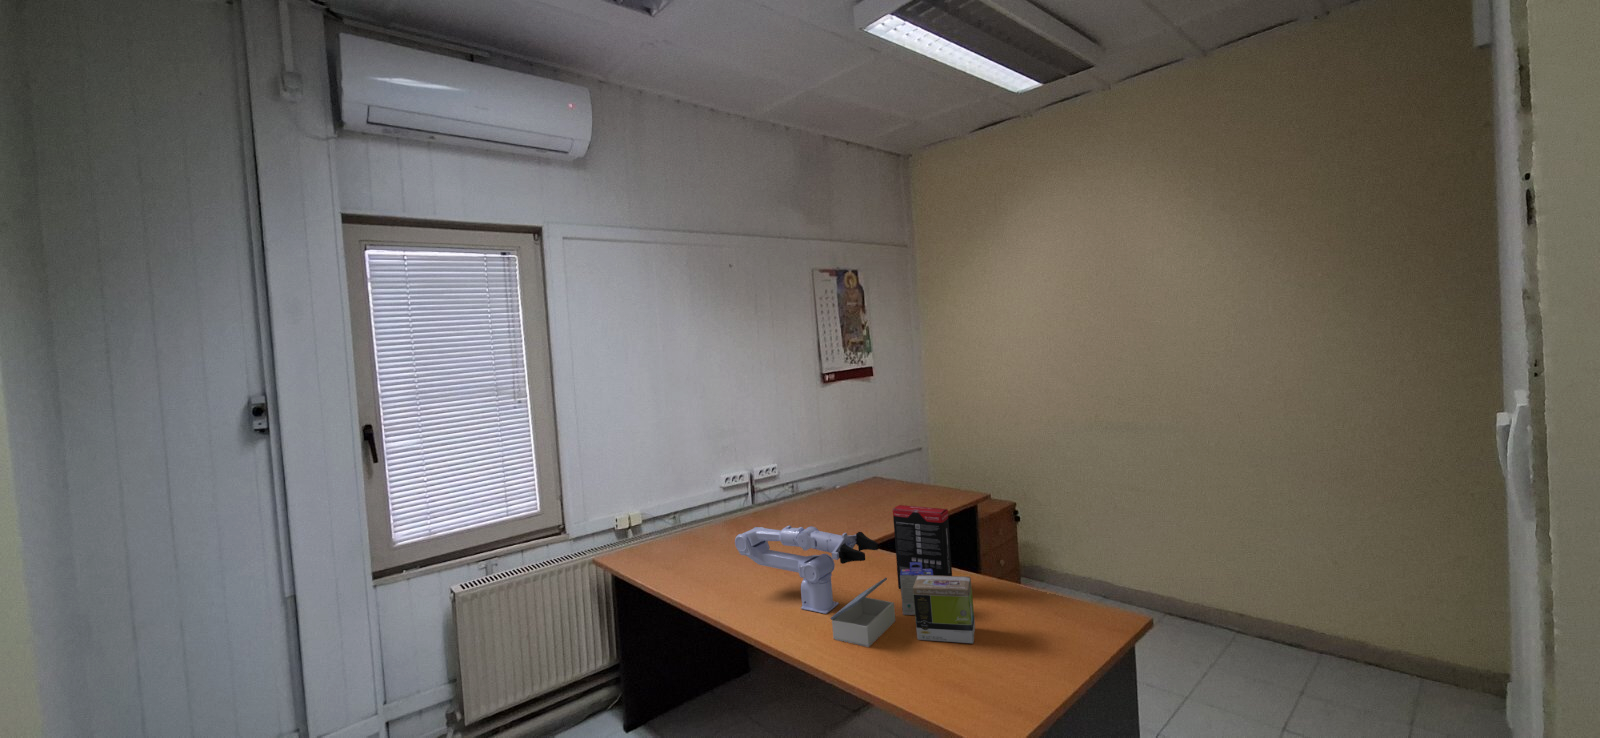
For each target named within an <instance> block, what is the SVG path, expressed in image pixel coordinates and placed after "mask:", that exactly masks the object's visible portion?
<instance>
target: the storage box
mask: <svg viewBox="0 0 1600 738" xmlns="http://www.w3.org/2000/svg"><path fill="white" fill-rule="evenodd" d="M895 611H896V610H895V602H893V601H888V600H883V599H876V598H871V597H868V596H866V597H865V598H864V599H863V600H862V601H860V602H859V603H858V604H856V605H854V606H853V607H851V608H850V609H848V610H846V611H845V612H843V613H842V614H840V615H839V616H837V617H835V618H834V619H832V620H831V625H832V636H833V640H834V639H835V641H839V642H843V641H844V643H847V642H848V643H847V644H852V643H853V644H852V645H856V644H857V646H861V647H865V648H870V647H871V645H873V644H874V643H875V642H876V641H877V640H879V638H880V637H881V636H882V635H883V634H884V633H885V632H886V631H887V630H888V629H889V628H890V627H891V626H892V625H893V624H894V623H895V622H896V615H895ZM878 637H879V638H878ZM873 642H874V643H873Z"/></svg>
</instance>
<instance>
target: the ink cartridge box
mask: <svg viewBox="0 0 1600 738" xmlns="http://www.w3.org/2000/svg"><path fill="white" fill-rule="evenodd" d="M912 565H920V567H912ZM918 575H932V576H933V570H932V569H922V562H910V569H904V570H901V572H900V584H901V589H900V593H901V594H900V596H901V608H902V615H903V616H915V608H914V597H913V586H914V584H915V581H916V578H917V576H918Z"/></svg>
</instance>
